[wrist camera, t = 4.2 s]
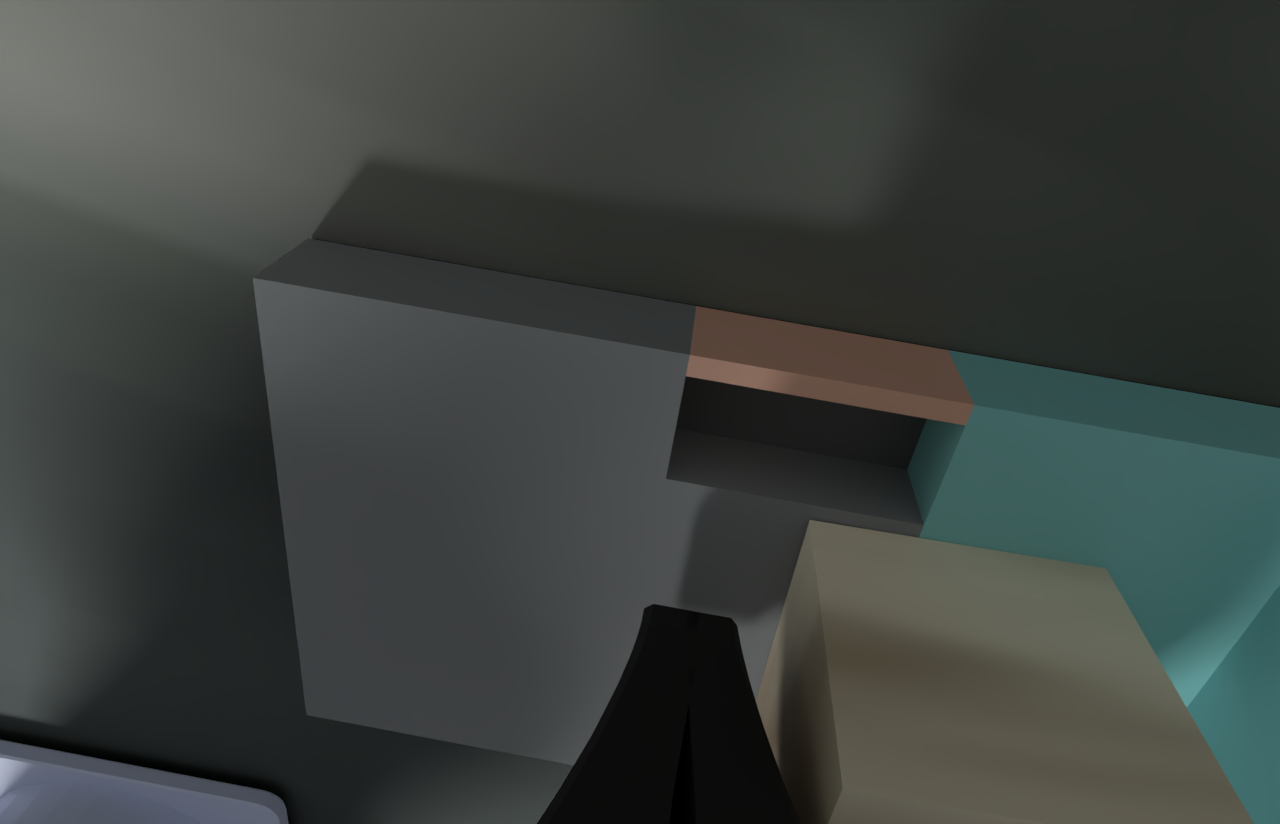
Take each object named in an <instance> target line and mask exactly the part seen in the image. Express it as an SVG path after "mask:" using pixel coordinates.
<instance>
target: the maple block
mask: <svg viewBox="0 0 1280 824" xmlns="http://www.w3.org/2000/svg"><path fill="white" fill-rule="evenodd" d="M756 704H757V707H758V710H759V714H760V717H761V720H762V723H763V726H764V729H765V732H766V735H767V738H768V740H769V743H770V746H771V749H772V752H773V754H774V757H775V760H776V763H777V766H778V768H779V771H780V774H781V777H782V779H783V782H784V784H785V787H786V790H787V792H788V795H789V797H790V800H791V802H792V805H793V807H794V810H795V812H796V814H797V817H798V819H799V821H800V824H1254V823H1253V821H1252V820H1251V818H1250V816H1249V814H1248V813H1247V811H1246V809H1245V808H1244V806H1243V804H1242V802H1241V801H1240V799H1239V797H1238V795H1237V794H1236V792H1235V790H1234V789H1233V787H1232V785H1231V783H1230V782H1229V780H1228V778H1227V776H1226V775H1225V773H1224V771H1223V770H1222V768H1221V766H1220V764H1219V763H1218V761H1217V759H1216V758H1215V756H1214V754H1213V752H1212V751H1211V749H1210V747H1209V745H1208V744H1207V742H1206V740H1205V739H1204V737H1203V735H1202V733H1201V732H1200V730H1199V728H1198V726H1197V725H1196V723H1195V721H1194V720H1193V718H1192V716H1191V714H1190V713H1189V711H1188V709H1187V707H1186V706H1185V704H1184V702H1183V701H1182V699H1181V697H1180V695H1179V694H1178V692H1177V690H1176V689H1175V687H1174V685H1173V683H1172V682H1171V680H1170V678H1169V676H1168V675H1167V673H1166V671H1165V670H1164V668H1163V666H1162V664H1161V663H1160V661H1159V659H1158V657H1157V656H1156V654H1155V652H1154V651H1153V649H1152V647H1151V645H1150V644H1149V642H1148V640H1147V638H1146V637H1145V635H1144V633H1143V632H1142V630H1141V628H1140V626H1139V625H1138V623H1137V621H1136V620H1135V618H1134V616H1133V614H1132V613H1131V611H1130V609H1129V607H1128V606H1127V604H1126V602H1125V601H1124V599H1123V597H1122V595H1121V594H1120V592H1119V590H1118V588H1117V587H1116V585H1115V583H1114V582H1113V580H1112V578H1111V576H1110V575H1109V573H1108V571H1107V570H1106V568H1100V567H1094V566H1088V565H1082V564H1076V563H1070V562H1064V561H1058V560H1052V559H1046V558H1040V557H1034V556H1028V555H1022V554H1015V553H1009V552H1003V551H997V550H991V549H985V548H979V547H973V546H967V545H960V544H954V543H948V542H942V541H936V540H930V539H924V538H918V537H912V536H905V535H899V534H893V533H887V532H881V531H875V530H869V529H863V528H857V527H850V526H844V525H838V524H832V523H826V522H820V521H814V520H809V524H808V527H807V530H806V534H805V537H804V540H803V544H802V547H801V550H800V554H799V557H798V560H797V564H796V567H795V570H794V574H793V577H792V580H791V584H790V587H789V590H788V594H787V597H786V601H785V604H784V607H783V611H782V614H781V617H780V621H779V624H778V627H777V631H776V634H775V637H774V641H773V644H772V647H771V651H770V654H769V657H768V661H767V664H766V667H765V671H764V674H763V677H762V681H761V684H760V687H759V691H758V694H757V697H756Z"/></svg>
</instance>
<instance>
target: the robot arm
mask: <svg viewBox="0 0 1280 824" xmlns="http://www.w3.org/2000/svg"><path fill="white" fill-rule="evenodd" d="M0 824H289V823H288V817H287V811H286V807H285V804H284V802H283V800H282V799H281V798H279V797H278V796H277V795H275V794H273V793H272V792H269V791H265V790H261V789H256V788H251V787H246V786H240V785H235V784H230V783H225V782H220V781H214V780H209V779H204V778H199V777H194V776H188V775H183V774H178V773H173V772H167V771H162V770H157V769H152V768H147V767H141V766H136V765H131V764H126V763H121V762H115V761H110V760H105V759H100V758H94V757H89V756H84V755H79V754H74V753H68V752H63V751H58V750H53V749H48V748H42V747H37V746H32V745H27V744H22V743H16V742H11V741H6V740H1V739H0ZM537 824H800V821H799V819H798V817H797V814H796V812H795V810H794V807H793V805H792V802H791V800H790V797H789V795H788V792H787V790H786V787H785V784H784V782H783V779H782V777H781V774H780V771H779V768H778V766H777V763H776V760H775V757H774V754H773V752H772V749H771V746H770V743H769V740H768V738H767V735H766V732H765V729H764V726H763V723H762V720H761V717H760V714H759V710H758V707H757V704H756V700H755V697H754V694H753V690H752V687H751V684H750V680H749V676H748V672H747V669H746V665H745V661H744V657H743V652H742V647H741V643H740V638H739V632H738V626H737V625H736V623H735V622H734V621H733V620H732V618H729V617H723V616H718V615H712V614H707V613H701V612H696V611H690V610H685V609H679V608H674V607H668V606H663V605H657V604H652V605H650V606H648V607H646V608H644V611H643V616H642V621H641V625H640V629H639V632H638V635H637V638H636V641H635V644H634V647H633V650H632V652H631V655H630V657H629V660H628V662H627V664H626V667H625V669H624V671H623V674H622V676H621V678H620V680H619V683H618V685H617V687H616V689H615V691H614V693H613V695H612V697H611V699H610V701H609V703H608V705H607V707H606V709H605V710H604V712H603V714H602V716H601V718H600V720H599V722H598V724H597V726H596V728H595V730H594V732H593V734H592V735H591V737H590V739H589V741H588V742H587V744H586V746H585V747H584V749H583V751H582V752H581V754H580V756H579V757H578V759H577V761H576V762H575V764H574V766H573V768H572V769H571V771H570V773H569V774H568V776H567V778H566V779H565V781H564V783H563V784H562V786H561V788H560V789H559V791H558V792H557V794H556V795H555V797H554V799H553V800H552V802H551V803H550V805H549V806H548V808H547V809H546V811H545V812H544V814H543V815H542V817H541V818H540V820H539V821H538V823H537Z"/></svg>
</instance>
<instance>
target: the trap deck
mask: <svg viewBox="0 0 1280 824" xmlns="http://www.w3.org/2000/svg"><path fill="white" fill-rule="evenodd" d="M253 285H254V293H255V301H256V309H257V317H258V325H259V333H260V342H261V350H262V358H263V366H264V374H265V382H266V390H267V399H268V407H269V415H270V423H271V431H272V439H273V447H274V456H275V464H276V472H277V480H278V488H279V496H280V504H281V513H282V521H283V529H284V537H285V545H286V553H287V561H288V570H289V578H290V586H291V594H292V602H293V610H294V619H295V627H296V635H297V643H298V651H299V659H300V667H301V676H302V684H303V692H304V700H305V708H306V715H309V716H314V717H319V718H325V719H330V720H335V721H341V722H346V723H351V724H356V725H362V726H367V727H372V728H378V729H383V730H388V731H393V732H399V733H404V734H409V735H414V736H420V737H425V738H430V739H436V740H441V741H446V742H451V743H457V744H462V745H467V746H473V747H478V748H483V749H488V750H494V751H499V752H504V753H510V754H515V755H520V756H525V757H531V758H536V759H541V760H547V761H552V762H557V763H562V764H568V765H573V766H574V764H575V762H576V761H577V759H578V757H579V756H580V754H581V752H582V751H583V749H584V747H585V746H586V744H587V742H588V741H589V739H590V737H591V735H592V734H593V732H594V730H595V728H596V726H597V724H598V722H599V720H600V718H601V716H602V714H603V712H604V710H605V709H606V707H607V705H608V703H609V701H610V699H611V697H612V695H613V693H614V691H615V689H616V687H617V685H618V683H619V680H620V678H621V676H622V674H623V671H624V669H625V667H626V664H627V662H628V660H629V657H630V655H631V652H632V650H633V647H634V644H635V641H636V638H637V635H638V632H639V629H640V625H641V621H642V616H643V611H644V608H646V607H648V606H650V605H652V604H657V605H663V606H668V607H674V608H679V609H685V610H690V611H696V612H701V613H707V614H712V615H718V616H723V617H729V618H732V620H733V621H734V622H735V623H736V625H737V626H738V632H739V638H740V643H741V647H742V652H743V657H744V661H745V665H746V669H747V672H748V676H749V680H750V684H751V687H752V690H753V694H754V697H755V700H756V697H757V694H758V691H759V687H760V684H761V681H762V677H763V674H764V671H765V667H766V664H767V661H768V657H769V654H770V651H771V647H772V644H773V641H774V637H775V634H776V631H777V627H778V624H779V621H780V617H781V614H782V611H783V607H784V604H785V601H786V597H787V594H788V590H789V587H790V584H791V580H792V577H793V574H794V570H795V567H796V564H797V560H798V557H799V554H800V550H801V547H802V544H803V540H804V537H805V534H806V530H807V527H808V524H809V520H814V521H820V522H826V523H832V524H838V525H844V526H850V527H857V528H863V529H869V530H875V531H881V532H887V533H893V534H899V535H905V536H912V537H918V538H924V539H930V540H936V541H942V542H948V543H954V544H960V545H967V546H973V547H979V548H985V549H991V550H997V551H1003V552H1009V553H1015V554H1022V555H1028V556H1034V557H1040V558H1046V559H1052V560H1058V561H1064V562H1070V563H1076V564H1082V565H1088V566H1094V567H1100V568H1106V570H1107V571H1108V573H1109V575H1110V576H1111V578H1112V580H1113V582H1114V583H1115V585H1116V587H1117V588H1118V590H1119V592H1120V594H1121V595H1122V597H1123V599H1124V601H1125V602H1126V604H1127V606H1128V607H1129V609H1130V611H1131V613H1132V614H1133V616H1134V618H1135V620H1136V621H1137V623H1138V625H1139V626H1140V628H1141V630H1142V632H1143V633H1144V635H1145V637H1146V638H1147V640H1148V642H1149V644H1150V645H1151V647H1152V649H1153V651H1154V652H1155V654H1156V656H1157V657H1158V659H1159V661H1160V663H1161V664H1162V666H1163V668H1164V670H1165V671H1166V673H1167V675H1168V676H1169V678H1170V680H1171V682H1172V683H1173V685H1174V687H1175V689H1176V690H1177V692H1178V694H1179V695H1180V697H1181V699H1182V701H1183V702H1184V704H1185V706H1186V707H1187V709H1188V711H1189V713H1190V714H1191V716H1192V718H1193V720H1194V721H1195V723H1196V725H1197V726H1198V728H1199V730H1200V732H1201V733H1202V735H1203V737H1204V739H1205V740H1206V742H1207V744H1208V745H1209V747H1210V749H1211V751H1212V752H1213V754H1214V756H1215V758H1216V759H1217V761H1218V763H1219V764H1220V766H1221V768H1222V770H1223V771H1224V773H1225V775H1226V776H1227V778H1228V780H1229V782H1230V783H1231V785H1232V787H1233V789H1234V790H1235V792H1236V794H1237V795H1238V797H1239V799H1240V801H1241V802H1242V804H1243V806H1244V808H1245V809H1246V811H1247V813H1248V814H1249V816H1250V818H1251V820H1252V821H1253V823H1254V824H1280V408H1277V407H1271V406H1266V405H1260V404H1254V403H1248V402H1243V401H1237V400H1231V399H1225V398H1220V397H1214V396H1208V395H1203V394H1197V393H1191V392H1185V391H1180V390H1174V389H1168V388H1162V387H1157V386H1151V385H1145V384H1140V383H1134V382H1128V381H1122V380H1117V379H1111V378H1105V377H1099V376H1094V375H1088V374H1082V373H1077V372H1071V371H1065V370H1059V369H1054V368H1048V367H1042V366H1036V365H1031V364H1025V363H1019V362H1014V361H1008V360H1002V359H996V358H991V357H985V356H979V355H973V354H968V353H962V352H956V351H951V350H945V349H939V348H933V347H928V346H922V345H916V344H910V343H905V342H899V341H893V340H888V339H882V338H876V337H870V336H865V335H859V334H853V333H847V332H842V331H836V330H830V329H825V328H819V327H813V326H807V325H802V324H796V323H790V322H784V321H779V320H773V319H767V318H762V317H756V316H750V315H744V314H739V313H733V312H727V311H721V310H716V309H710V308H704V307H699V306H693V305H687V304H681V303H676V302H670V301H664V300H658V299H653V298H647V297H641V296H636V295H630V294H624V293H618V292H613V291H607V290H601V289H595V288H590V287H584V286H578V285H573V284H567V283H561V282H555V281H550V280H544V279H538V278H532V277H527V276H521V275H515V274H510V273H504V272H498V271H492V270H487V269H481V268H475V267H469V266H464V265H458V264H452V263H447V262H441V261H435V260H429V259H424V258H418V257H412V256H406V255H401V254H395V253H389V252H384V251H378V250H372V249H366V248H361V247H355V246H349V245H343V244H338V243H332V242H326V241H321V240H315V239H307V240H306V241H304V242H303V243H301V244H300V245H299V246H297V247H296V248H294V249H293V250H292V251H290V252H289V253H287V254H286V255H284V256H283V257H282V258H280V259H279V260H277V261H276V262H275V263H273V264H272V265H270V266H269V267H267V268H266V269H265V270H263V271H262V272H260V273H259V274H258V275H256V276H255V277H253Z"/></svg>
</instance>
